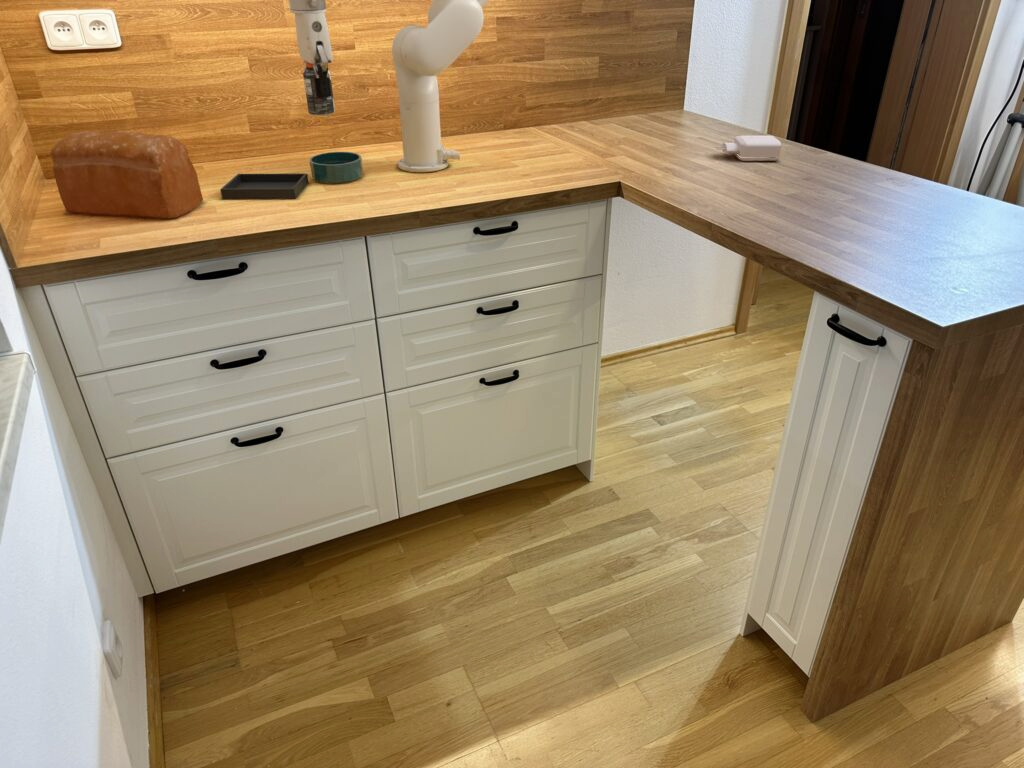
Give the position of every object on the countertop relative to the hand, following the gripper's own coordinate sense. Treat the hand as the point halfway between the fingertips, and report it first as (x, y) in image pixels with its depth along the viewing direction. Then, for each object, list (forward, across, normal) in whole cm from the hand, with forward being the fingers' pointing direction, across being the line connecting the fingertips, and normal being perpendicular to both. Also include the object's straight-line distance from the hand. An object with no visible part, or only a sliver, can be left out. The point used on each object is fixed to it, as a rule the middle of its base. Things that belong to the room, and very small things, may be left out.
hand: (319, 93), depth 164 cm
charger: (+19, -36, -98) cm, 106 cm away
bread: (+19, 0, +43) cm, 47 cm away
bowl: (+19, 0, -2) cm, 19 cm away
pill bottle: (+4, 0, 0) cm, 4 cm away
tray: (+19, -2, +16) cm, 25 cm away
